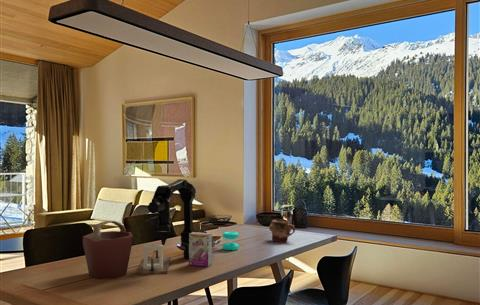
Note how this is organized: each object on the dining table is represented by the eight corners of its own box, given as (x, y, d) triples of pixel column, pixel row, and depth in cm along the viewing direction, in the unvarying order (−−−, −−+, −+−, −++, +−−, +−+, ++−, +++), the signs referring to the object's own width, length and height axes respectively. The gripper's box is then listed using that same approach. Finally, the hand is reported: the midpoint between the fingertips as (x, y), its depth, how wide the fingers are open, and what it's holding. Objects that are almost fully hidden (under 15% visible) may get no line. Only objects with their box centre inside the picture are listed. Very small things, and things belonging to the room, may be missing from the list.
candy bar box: (188, 265, 225) (188, 233, 225) (192, 263, 230) (192, 231, 230) (208, 267, 221) (208, 234, 222) (212, 265, 226) (212, 233, 226)
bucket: (102, 284, 192) (103, 226, 192) (70, 276, 203) (70, 222, 204) (142, 271, 212) (143, 220, 213) (111, 265, 224) (111, 216, 224)
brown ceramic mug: (299, 241, 290) (299, 220, 290) (291, 244, 280) (291, 222, 280) (273, 238, 301) (273, 218, 301) (264, 241, 291) (264, 220, 291)
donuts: (221, 233, 261) (223, 231, 271) (221, 250, 261) (223, 247, 271) (238, 234, 260) (239, 231, 270) (237, 251, 260) (239, 247, 270)
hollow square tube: (162, 266, 218) (163, 244, 218) (162, 269, 213) (162, 246, 213) (144, 266, 217) (144, 244, 217) (143, 269, 212) (143, 246, 212)
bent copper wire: (158, 257, 238) (158, 241, 238) (153, 271, 209) (153, 253, 209) (155, 257, 238) (155, 241, 238) (150, 271, 209) (151, 253, 209)
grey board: (170, 258, 240) (170, 256, 240) (167, 273, 209) (167, 271, 209) (144, 259, 239) (144, 256, 239) (137, 274, 208) (137, 271, 208)
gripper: (148, 209, 224) (148, 240, 224) (145, 213, 206) (145, 247, 205) (170, 209, 226) (170, 239, 225) (169, 213, 207) (169, 246, 207)
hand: (163, 243), depth 216 cm, fingers open, 9 cm apart
